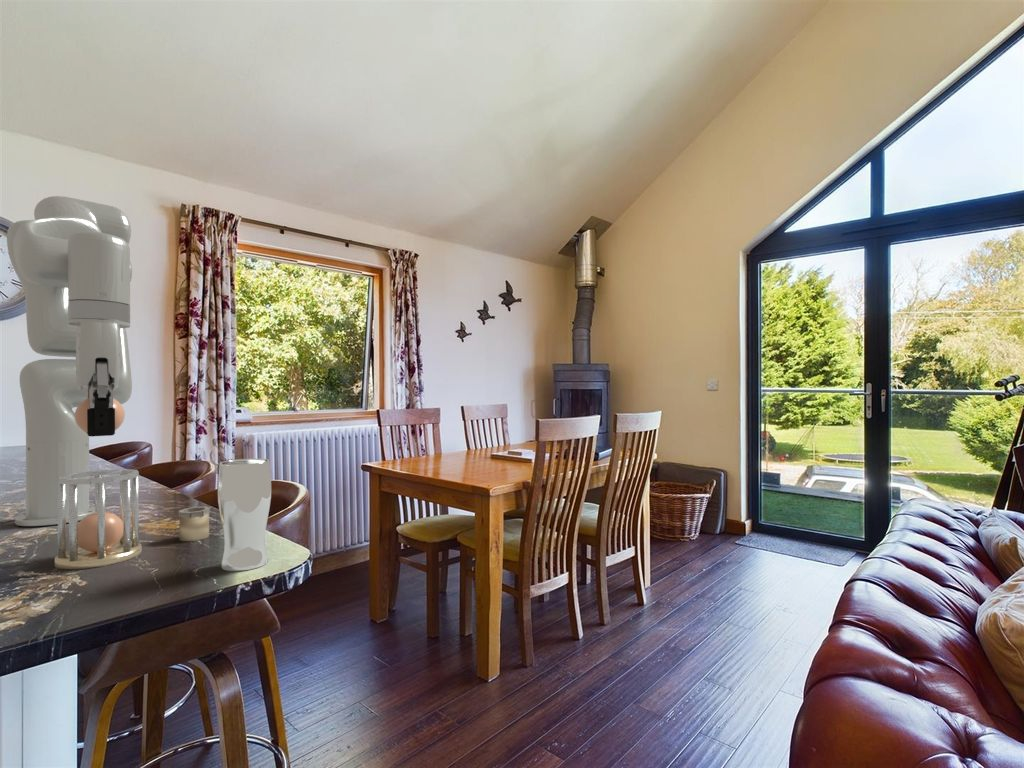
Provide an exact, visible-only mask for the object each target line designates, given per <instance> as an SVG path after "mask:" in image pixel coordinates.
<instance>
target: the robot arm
mask: <svg viewBox="0 0 1024 768" xmlns="http://www.w3.org/2000/svg"><path fill="white" fill-rule="evenodd" d="M33 211H34V212H33V215H34V219H29V220H28V219H26V220H19V221H16V222H12V223H11V224H10V226H9V227H8V230H7V233H6V246H7V252H8V256H9V260H10V263H11V265H12V268H13V270H14V272H15V274H16V275H17V278H18V281H19V282H20V284H21V286H22V288H23V291H24V298H25V312H26V313H25V314H26V315H25V316H26V331H27V339H28V340H27V341H28V343H29V346H30V349H32V351H34V352H35V353H36V354H39V355H42V356H47V357H60V358H45V359H37V360H33V361H31V362H29V363H27V364H26V365H24V366H23V367H22V369H21V370H20V372H19V388H20V391H21V392H20V393H21V397H22V398H21V399H22V403H23V408H24V409H23V410H24V419H25V420H24V421H25V513H23V514H20V515H18V516H16V517H15V518H14V524H15V525H16V526H18V527H19V526H20V527H41V526H42V527H45V526H54V525H58V482H59V476H63V475H67V474H73V473H80V472H87V471H90V437H105V436H107V437H108V436H114V435H115V434H116V430H115V408H113V399H115V400H117V401H118V402H119V403H120V404H121V405H123V404H125V403H127V402H128V401H129V399H130V398H131V395H132V391H133V390H132V389H133V385H132V383H133V381H132V380H133V379H132V371H131V370H132V369H131V361H130V352H129V341H128V335H127V329H128V328H131V281H132V275H133V267H132V263H131V251H130V250H131V249H130V246H129V244H130V241H131V239H132V238H131V236H132V229H131V223H130V220H129V217H128V216H127V215H126V213H124V211H122V210H121V209H119V208H118V207H116V206H113V205H108V204H103V203H99V202H93V201H88V200H84V199H80V198H75V197H69V196H61V195H59V196H58V195H55V196H54V195H53V196H48V197H44V198H43V199H41V200H40V201H39V202H37V203H36V205H35V208H34V210H33ZM61 357H62V358H61ZM64 357H65V358H64ZM66 358H67V359H66ZM70 358H71V359H70ZM74 358H75V359H74ZM88 398H89V401H90V409H87V432H85V431H83V430H82V429H80V428H79V426H78V425H77V423H76V421H75V411H73V408H74V409H75V408H77V407H78V406H79V404H80V403H81V402H83V401H84V400H86V399H88ZM94 398H95V400H94ZM88 478H90V476H88V477H81V478H77V479H88ZM94 512H95V505H94V506H92V505H91V506H90V484H78V522H80V521H81V520H82V519H83V518H84V517H86V516H87V515H89V514H91V513H94ZM67 523H68V524H69V485H68V484H66V524H67Z"/></svg>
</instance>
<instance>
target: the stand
mask: <svg viewBox="0 0 1024 768" xmlns="http://www.w3.org/2000/svg"><path fill="white" fill-rule="evenodd" d="M210 513H211V509H210V507H209V506H193V507H186V508H183V509H179V510H178V519H179V524H178V525H179V529H178V530H179V531H178V532H179V535H178V537H179V539H178V540H179V541H181V542H194V541H199V540H204V539H208V538H209V537H210Z"/></svg>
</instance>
